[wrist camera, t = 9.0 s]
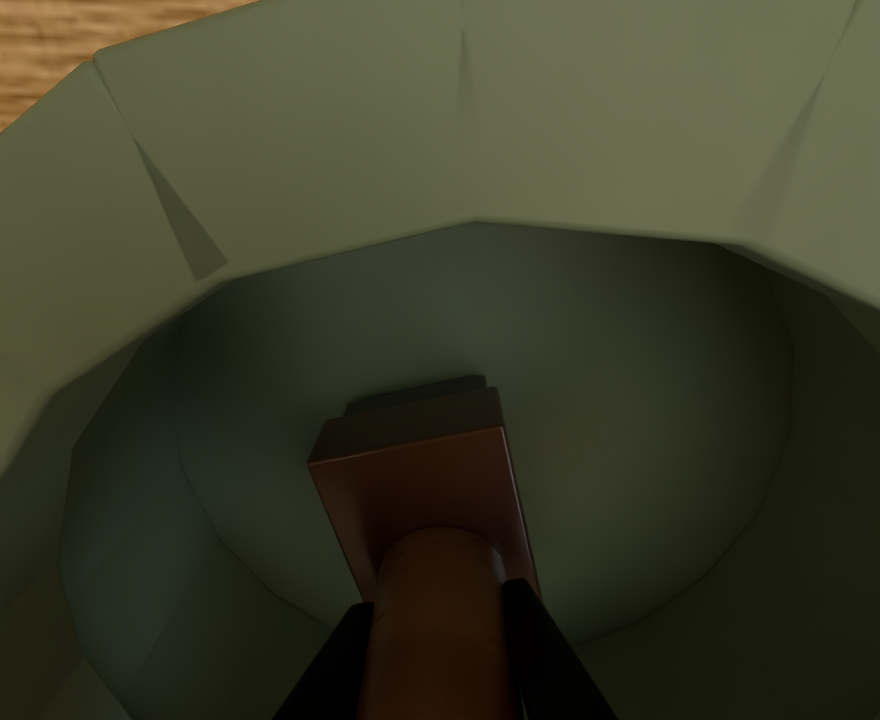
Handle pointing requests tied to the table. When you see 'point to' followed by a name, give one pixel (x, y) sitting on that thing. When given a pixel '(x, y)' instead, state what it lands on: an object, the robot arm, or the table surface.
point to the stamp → (429, 547)
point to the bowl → (449, 339)
